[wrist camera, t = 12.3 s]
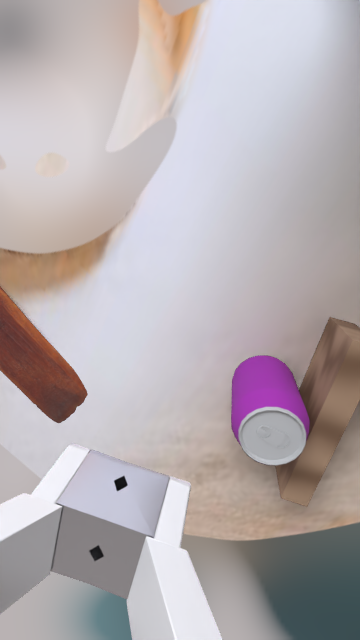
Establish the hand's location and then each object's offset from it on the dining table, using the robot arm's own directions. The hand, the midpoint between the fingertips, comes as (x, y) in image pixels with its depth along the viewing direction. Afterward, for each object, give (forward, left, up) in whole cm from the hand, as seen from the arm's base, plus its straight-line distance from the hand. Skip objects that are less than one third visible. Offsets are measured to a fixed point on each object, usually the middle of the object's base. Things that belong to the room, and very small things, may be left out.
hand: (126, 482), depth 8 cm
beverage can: (+11, +10, -33) cm, 36 cm away
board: (+11, +16, -33) cm, 38 cm away
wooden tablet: (+17, -25, -34) cm, 45 cm away
